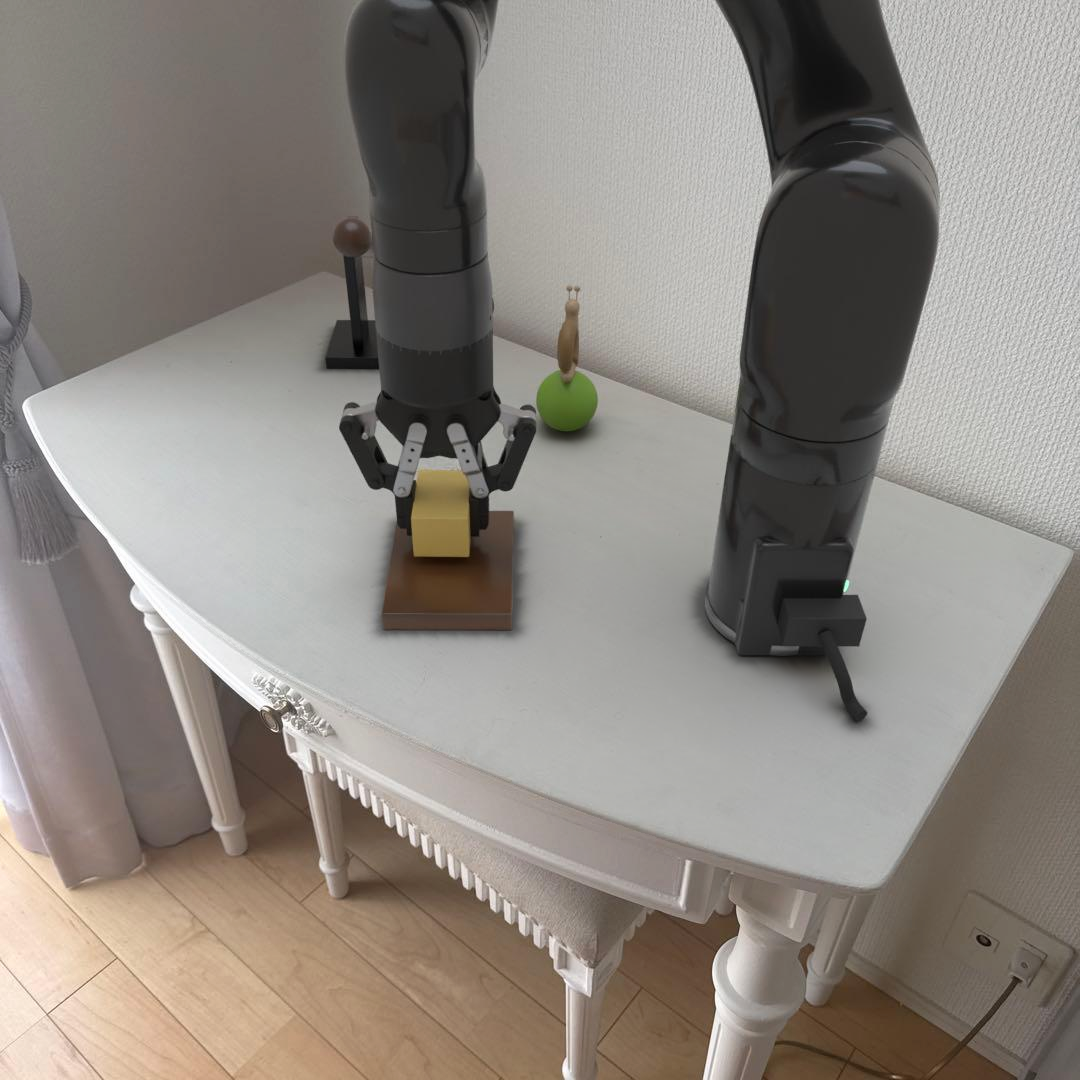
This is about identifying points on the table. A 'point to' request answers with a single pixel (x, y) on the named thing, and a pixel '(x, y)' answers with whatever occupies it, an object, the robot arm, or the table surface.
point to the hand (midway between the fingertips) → (444, 528)
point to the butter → (441, 514)
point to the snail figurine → (567, 380)
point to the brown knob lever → (353, 238)
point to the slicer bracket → (354, 326)
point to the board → (453, 583)
